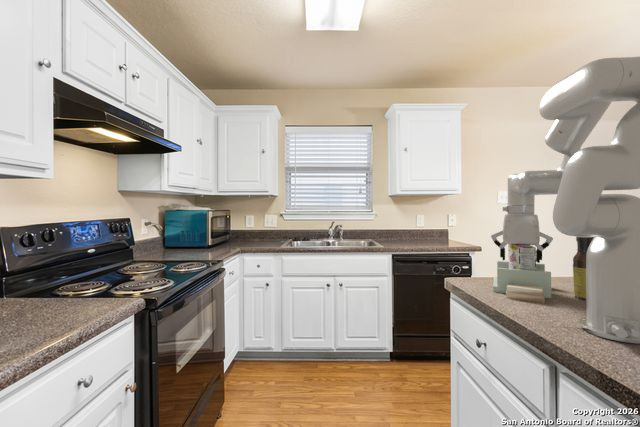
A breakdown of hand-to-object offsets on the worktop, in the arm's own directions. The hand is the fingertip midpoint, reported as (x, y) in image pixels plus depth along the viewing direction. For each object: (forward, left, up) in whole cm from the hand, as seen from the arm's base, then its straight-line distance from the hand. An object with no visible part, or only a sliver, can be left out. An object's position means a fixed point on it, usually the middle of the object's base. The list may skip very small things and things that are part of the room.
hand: (520, 260), depth 100 cm
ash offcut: (-12, 0, -8) cm, 14 cm away
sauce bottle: (-4, -16, -11) cm, 20 cm away
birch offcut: (-12, 0, -10) cm, 15 cm away
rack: (0, 0, -11) cm, 11 cm away
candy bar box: (0, 0, -11) cm, 11 cm away
